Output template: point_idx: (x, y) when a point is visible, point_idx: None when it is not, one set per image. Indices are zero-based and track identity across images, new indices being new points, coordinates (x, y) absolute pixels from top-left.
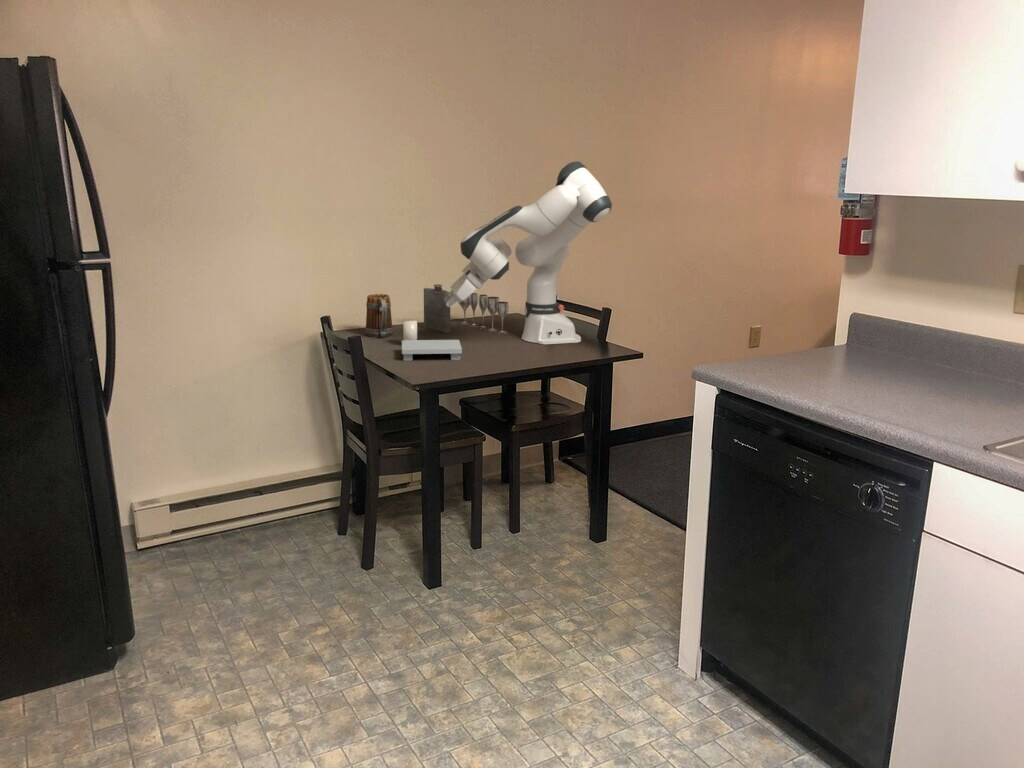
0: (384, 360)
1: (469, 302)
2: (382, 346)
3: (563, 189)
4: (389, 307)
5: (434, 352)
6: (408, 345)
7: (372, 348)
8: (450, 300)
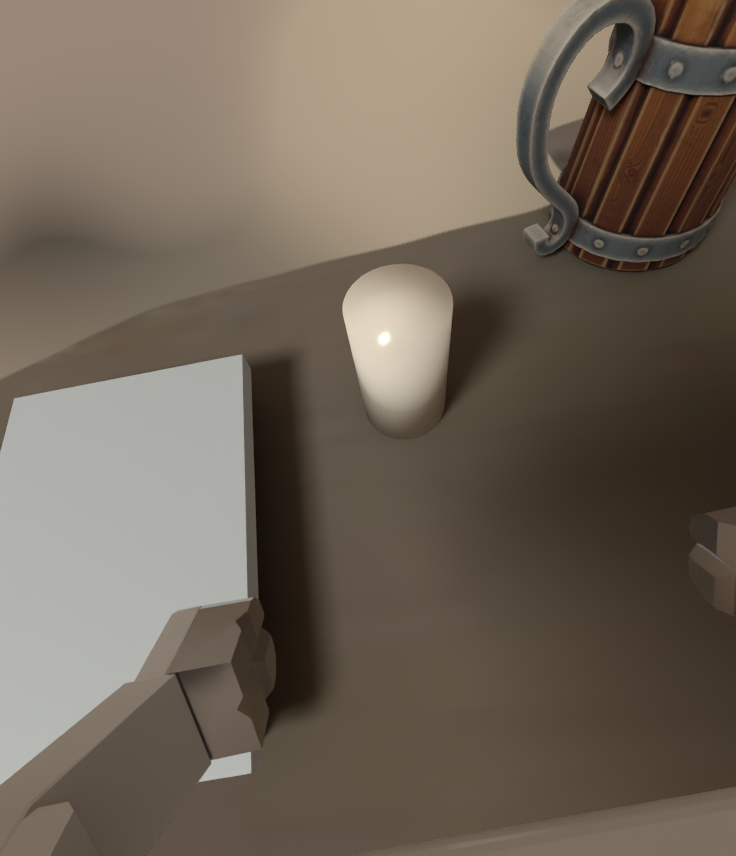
0: (98, 355)
1: None
2: None
3: None
4: (707, 96)
5: None
6: (106, 411)
7: (322, 266)
8: (97, 720)
